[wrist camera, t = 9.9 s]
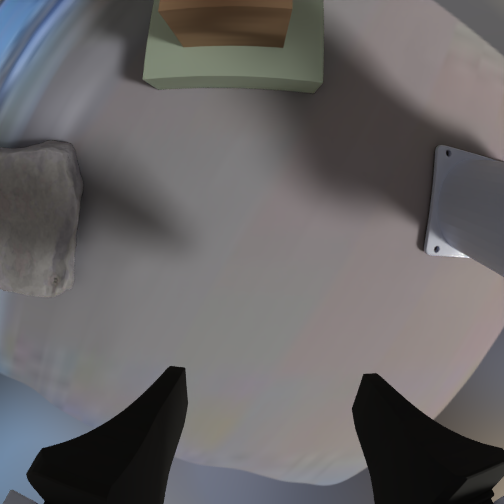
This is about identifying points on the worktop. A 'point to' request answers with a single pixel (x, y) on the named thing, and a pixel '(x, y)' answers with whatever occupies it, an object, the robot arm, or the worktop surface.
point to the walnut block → (228, 22)
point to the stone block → (39, 218)
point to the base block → (240, 57)
